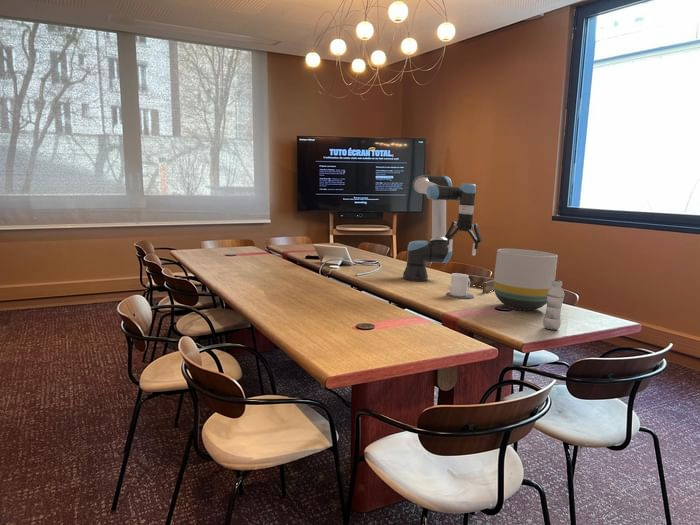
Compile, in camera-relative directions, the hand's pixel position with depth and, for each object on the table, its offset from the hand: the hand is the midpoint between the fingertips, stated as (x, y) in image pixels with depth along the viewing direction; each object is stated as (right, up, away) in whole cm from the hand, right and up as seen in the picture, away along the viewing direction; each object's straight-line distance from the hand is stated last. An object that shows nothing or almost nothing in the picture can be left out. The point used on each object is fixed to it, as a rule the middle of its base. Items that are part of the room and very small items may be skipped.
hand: (461, 253), depth 250 cm
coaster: (-2, -22, -5) cm, 23 cm away
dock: (+12, -20, +17) cm, 28 cm away
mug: (-2, -22, -5) cm, 23 cm away
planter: (+22, -27, -25) cm, 43 cm away
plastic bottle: (+22, -32, -59) cm, 71 cm away
